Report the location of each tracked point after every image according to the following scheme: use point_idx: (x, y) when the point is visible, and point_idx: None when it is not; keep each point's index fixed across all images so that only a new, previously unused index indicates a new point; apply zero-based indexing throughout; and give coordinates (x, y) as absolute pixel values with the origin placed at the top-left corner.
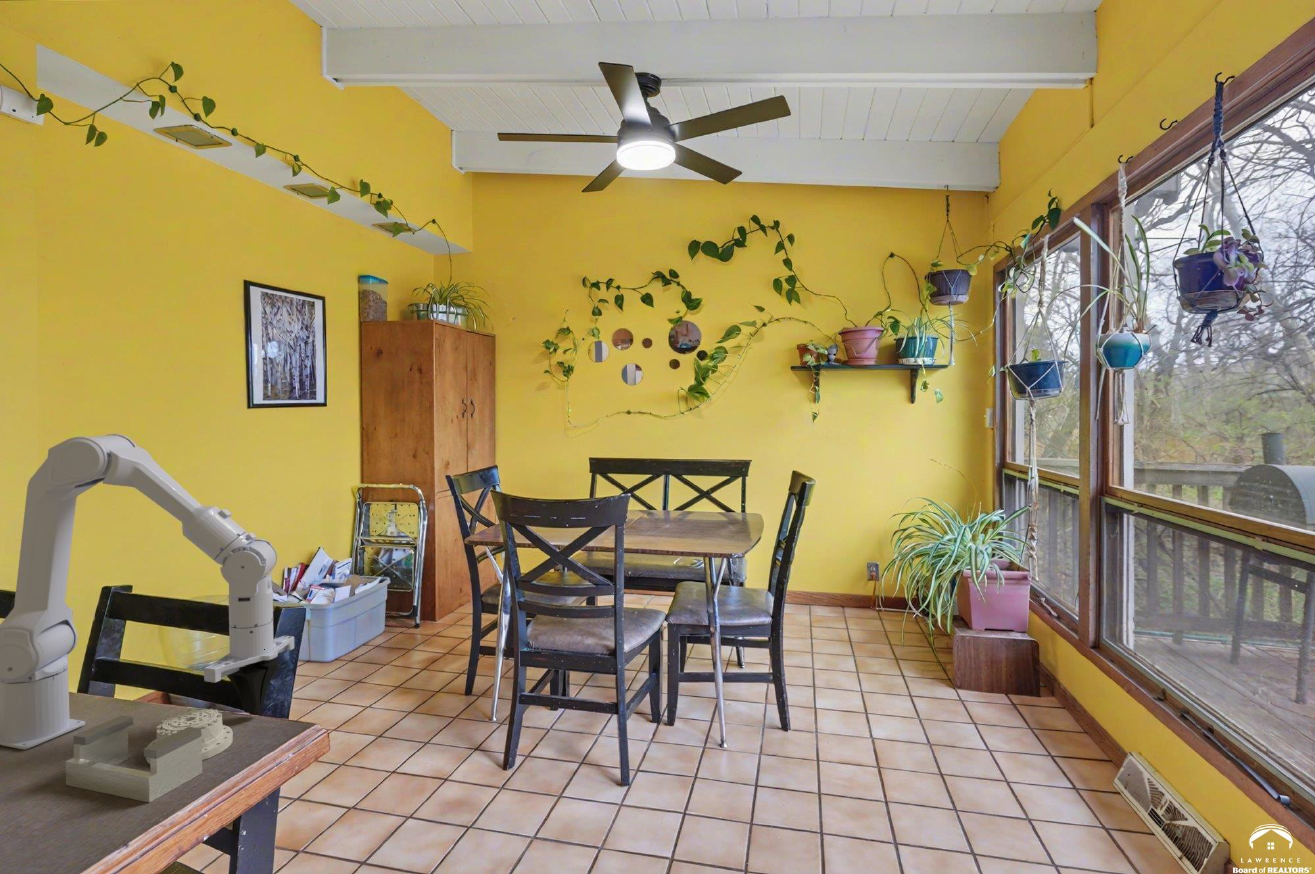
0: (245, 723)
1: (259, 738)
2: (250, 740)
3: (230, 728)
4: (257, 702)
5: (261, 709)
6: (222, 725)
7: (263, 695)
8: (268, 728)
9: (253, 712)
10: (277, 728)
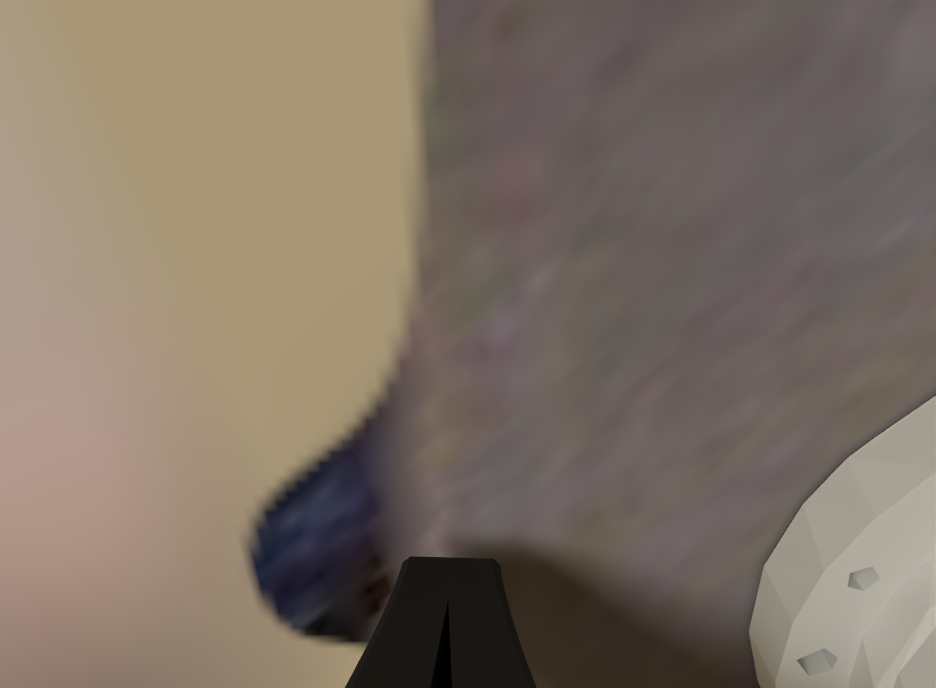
0: (565, 540)
1: (862, 185)
2: (911, 244)
3: (869, 532)
4: (487, 642)
5: (415, 561)
6: (804, 630)
7: (393, 686)
8: (619, 274)
9: (501, 579)
10: (601, 177)
